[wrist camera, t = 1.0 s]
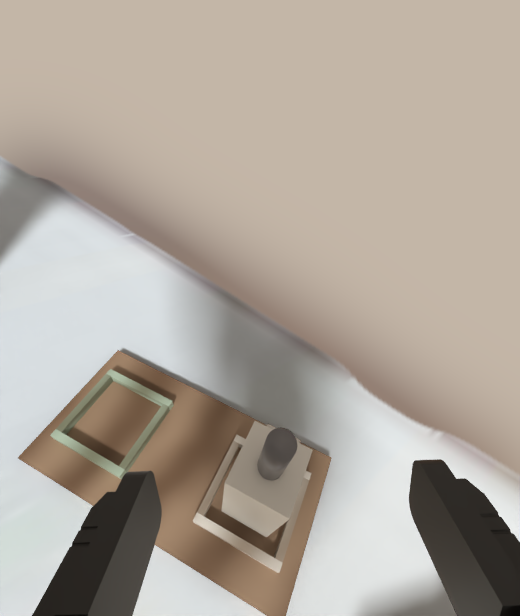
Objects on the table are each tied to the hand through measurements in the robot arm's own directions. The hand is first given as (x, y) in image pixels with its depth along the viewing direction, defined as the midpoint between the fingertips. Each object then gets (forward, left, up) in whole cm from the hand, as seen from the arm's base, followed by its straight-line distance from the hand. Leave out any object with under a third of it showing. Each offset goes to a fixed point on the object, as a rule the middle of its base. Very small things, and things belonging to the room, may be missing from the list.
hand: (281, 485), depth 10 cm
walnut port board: (-7, +3, -20) cm, 22 cm away
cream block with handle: (0, +3, -19) cm, 20 cm away
